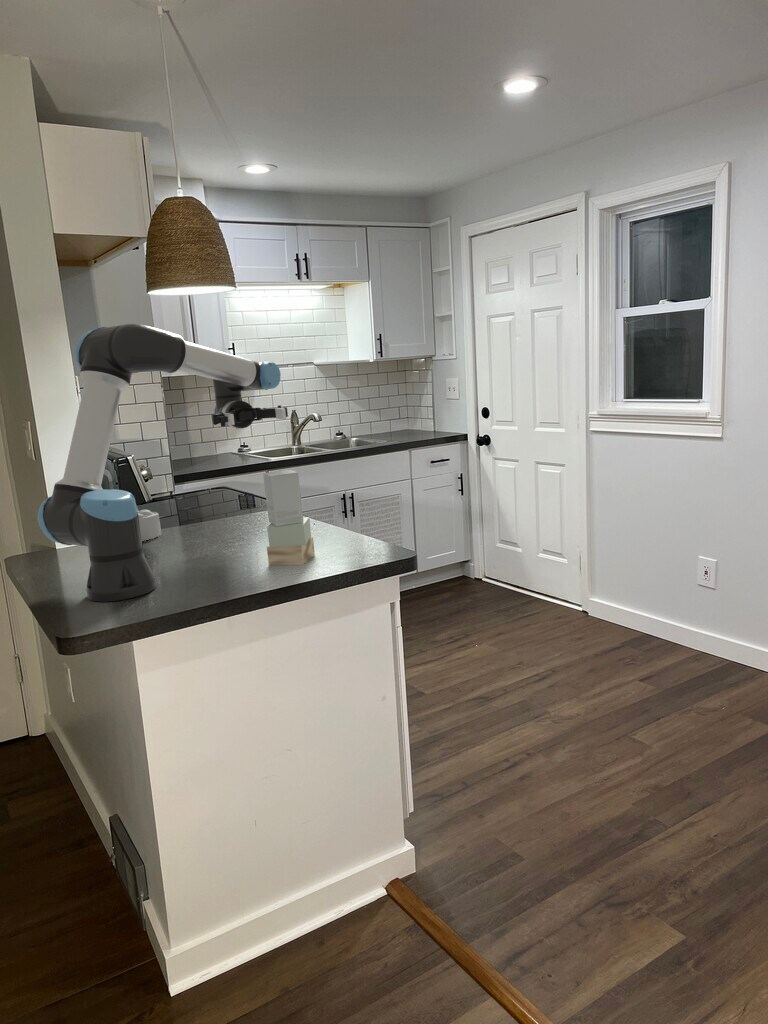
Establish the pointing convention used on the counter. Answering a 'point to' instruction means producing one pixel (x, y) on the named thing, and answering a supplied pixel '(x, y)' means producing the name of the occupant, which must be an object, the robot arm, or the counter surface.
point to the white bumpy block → (149, 524)
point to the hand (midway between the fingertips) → (258, 416)
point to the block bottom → (291, 554)
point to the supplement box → (283, 497)
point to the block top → (289, 534)
